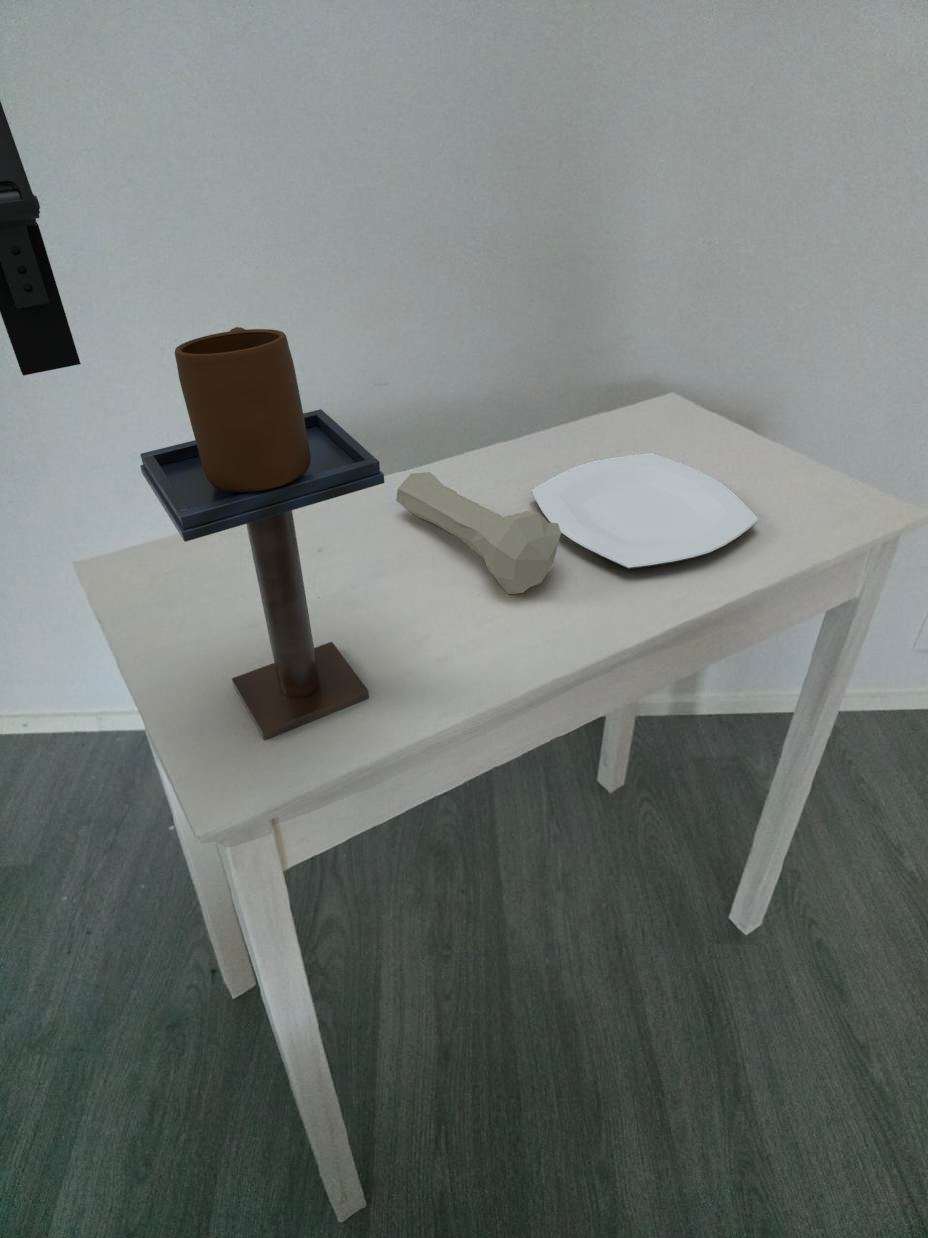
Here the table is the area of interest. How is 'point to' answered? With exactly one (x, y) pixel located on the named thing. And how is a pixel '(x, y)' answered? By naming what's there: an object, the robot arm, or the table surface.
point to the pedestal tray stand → (275, 566)
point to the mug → (244, 408)
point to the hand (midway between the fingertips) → (28, 327)
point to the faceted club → (487, 531)
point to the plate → (643, 510)
